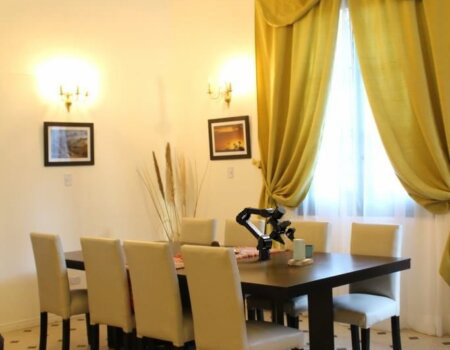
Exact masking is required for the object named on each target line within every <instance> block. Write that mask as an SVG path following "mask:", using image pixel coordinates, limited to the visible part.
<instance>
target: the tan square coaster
mask: <svg viewBox="0 0 450 350" xmlns="http://www.w3.org/2000/svg"><path fill="white" fill-rule="evenodd" d="M288 264H289V265H290V266H301V267H302V266H308V265H311V264H314V258H311V259H306V258H305V260H294V259H293V258H292V259H288V260H287V265H288Z"/></svg>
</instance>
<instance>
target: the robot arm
mask: <svg viewBox="0 0 450 350" xmlns="http://www.w3.org/2000/svg"><path fill="white" fill-rule="evenodd" d="M286 212H287V211H286V209H285V208H284V207H282V206H280V205H277V206H276V207H275V208H272V207H269V208H257V207H252V206H250V207H244V208H243V210H241V211H240V212H239V213H238V214H237V215H236V217H235V222H236V223H237V224H238V225H239V226H242V227H245V228H246V230H247V231H249V233H250V234H251V235H252V236H253V237H254V238H255V239H256V240H257V245H256V246H255V248H256V251H258V258H257V260H258V261H259V260H260V261H268V260H272V257H271V251H270V250H272V249H273V244H274V243H273V241H275V242H277V243H279V244H280V245H284V246H285V245H286V243H285V241H284V239H283V238H282V236H283V235H285V236H286V237H287V238H288V239H289V240H290V241H291V242H292V243H293V239H295V233H296V231H297V230H296V228H295V227H293V226H292V227H291V225H292V221H291V220H290V219H287V220H283V221H282V222H281V221H280V220H281V219H282V218H283V217H284V215H286ZM252 215H257V216H260V217H262V218H264V219H266V225H271V227H272V228H271V230H272V231H271V232H270V233H269V234H263V233H262V232H261V231H260V230H259V229H258V228H257V226H255V225H254V224H253V223H252V221H251V216H252ZM267 218H268V219H267ZM289 226H290V227H289Z"/></svg>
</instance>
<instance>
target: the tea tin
mask: <svg viewBox="0 0 450 350" xmlns="http://www.w3.org/2000/svg"><path fill="white" fill-rule="evenodd" d="M305 245H306V239H305V238H296V239H293V242H292V246H293V249H292V250H293V254H292V255H293V257H292V259H294V260H305Z"/></svg>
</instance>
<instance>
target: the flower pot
mask: <svg viewBox="0 0 450 350" xmlns="http://www.w3.org/2000/svg"><path fill="white" fill-rule="evenodd" d="M314 245H315V244H305V258H306V259H313V255H314V251H315V249H314Z"/></svg>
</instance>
